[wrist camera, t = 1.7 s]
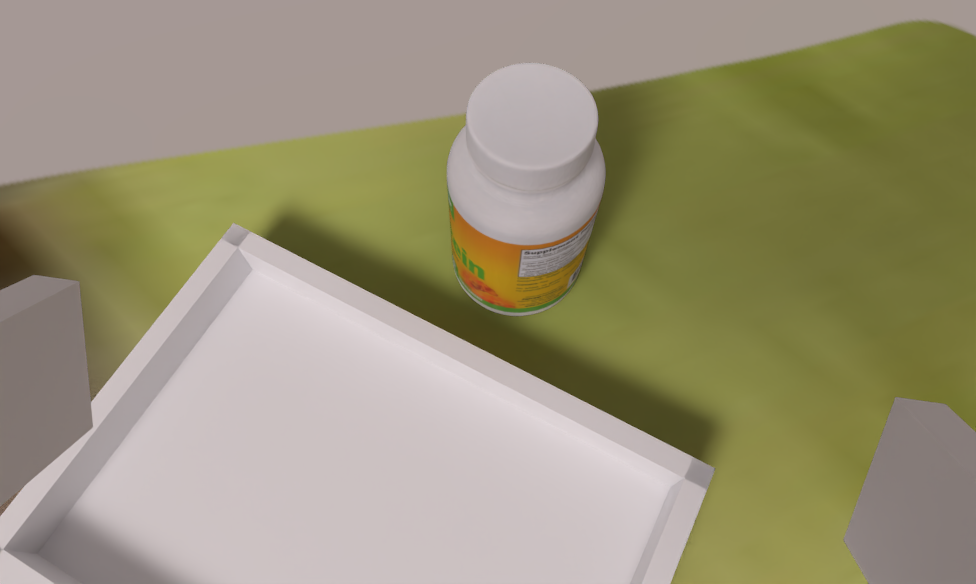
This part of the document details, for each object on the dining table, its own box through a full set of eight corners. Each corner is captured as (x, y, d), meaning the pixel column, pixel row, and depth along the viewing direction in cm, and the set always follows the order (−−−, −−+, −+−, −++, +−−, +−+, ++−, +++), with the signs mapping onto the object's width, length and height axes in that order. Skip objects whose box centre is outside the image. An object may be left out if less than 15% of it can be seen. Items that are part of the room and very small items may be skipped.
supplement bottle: (433, 230, 30) (415, 73, 21) (546, 190, 31) (573, 23, 22) (482, 338, 28) (483, 214, 19) (601, 292, 29) (655, 153, 20)
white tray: (694, 480, 26) (715, 468, 24) (523, 906, 21) (528, 943, 18) (252, 252, 30) (233, 222, 27) (13, 565, 24) (-35, 560, 22)
